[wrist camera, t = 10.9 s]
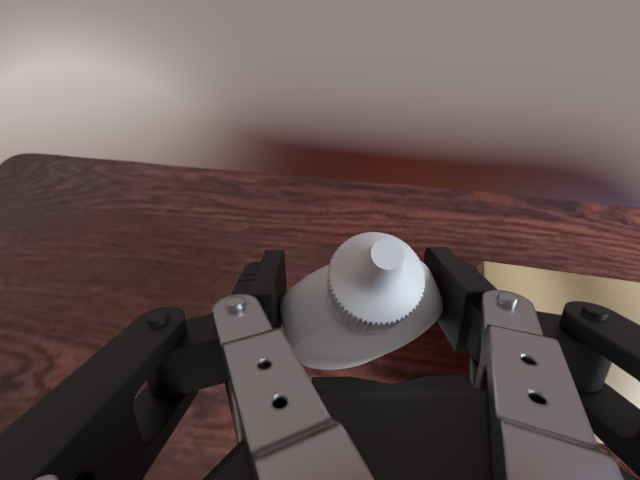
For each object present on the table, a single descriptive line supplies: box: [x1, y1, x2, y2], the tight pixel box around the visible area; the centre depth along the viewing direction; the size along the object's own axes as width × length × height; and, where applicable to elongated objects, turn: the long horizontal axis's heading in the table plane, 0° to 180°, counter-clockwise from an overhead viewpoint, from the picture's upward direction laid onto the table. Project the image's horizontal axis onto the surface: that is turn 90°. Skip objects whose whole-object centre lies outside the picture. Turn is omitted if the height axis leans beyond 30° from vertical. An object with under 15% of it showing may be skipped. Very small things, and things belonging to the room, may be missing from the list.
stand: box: [477, 261, 640, 444], centre depth 24 cm, size 12×11×6 cm
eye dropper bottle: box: [280, 232, 443, 370], centre depth 12 cm, size 4×6×12 cm
